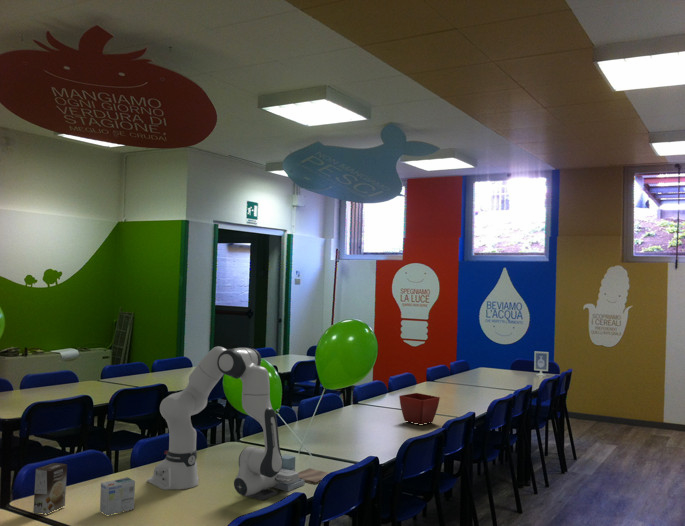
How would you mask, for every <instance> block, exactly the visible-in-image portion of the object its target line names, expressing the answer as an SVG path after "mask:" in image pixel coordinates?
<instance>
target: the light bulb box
mask: <svg viewBox="0 0 685 526" xmlns="http://www.w3.org/2000/svg"><path fill="white" fill-rule="evenodd" d="M135 490H136V481H135V480H133V479H131V478H130V477H128V476H126V477H122V478H117V479H114V480H109V481H104V482H100V500H99V502H100V503H99V512H100V511H101V512H103V513H104V514H106V515H111V514H114V513H119V512H123V511H127V512H129V511H128V510H131V511H133V510H132V509H134V510H135V496H136V495H135V494H136V493H135V492H136V491H135ZM101 512H100V513H101ZM103 513H102V514H103ZM123 513H124V512H123ZM104 514H103V515H104ZM119 514H120V513H119ZM111 516H112V515H111Z"/></svg>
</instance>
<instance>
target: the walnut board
mask: <svg viewBox="0 0 685 526" xmlns="http://www.w3.org/2000/svg"><path fill="white" fill-rule="evenodd" d="M297 472H298V473H299V479H303V480H304V483H305V482H306V483H308V484H309V483H310V484H313V485H319V484H320V483H321V482H320V481H321V479H322V478H323V477H324V476H325V475H327V474H329V473H330V472H327V471H322V470H319V469H313V468H310V467H309V468H306V469H305V470H302V471H297ZM319 482H320V483H319Z"/></svg>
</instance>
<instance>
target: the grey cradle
mask: <svg viewBox="0 0 685 526" xmlns="http://www.w3.org/2000/svg"><path fill="white" fill-rule="evenodd" d="M304 485H305V481H304V480H303V479H299V480H298V481H297V482H295V483H294V484H292V485H289V486H287V485H283V484H279V483H278V482H277V483H276V485H275V486H273V487H272V488H275V489H278V490H282V491H286V492H290V491H292V490H295V489H297V488H299V487H303V486H304Z"/></svg>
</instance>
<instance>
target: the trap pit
mask: <svg viewBox="0 0 685 526" xmlns="http://www.w3.org/2000/svg"><path fill="white" fill-rule="evenodd" d="M277 495H278V491H277V490H274V489H271V488H268V489H266V490H261V491H260V492H258V493H256V494H253V495H249V496H247V497H248V498H252V499H255V500H258V501H262V502H263V501H265V500H268V499H270V498H272V497H275V496H277Z"/></svg>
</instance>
